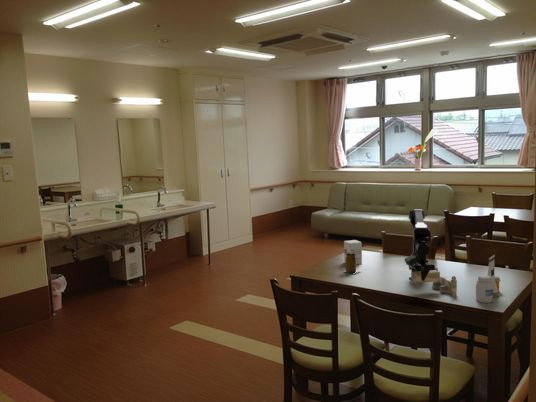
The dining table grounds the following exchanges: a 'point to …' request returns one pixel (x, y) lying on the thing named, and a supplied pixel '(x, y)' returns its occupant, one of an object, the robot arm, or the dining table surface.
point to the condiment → (350, 263)
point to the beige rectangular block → (430, 277)
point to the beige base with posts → (446, 285)
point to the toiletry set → (487, 284)
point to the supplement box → (353, 250)
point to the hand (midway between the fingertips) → (421, 279)
